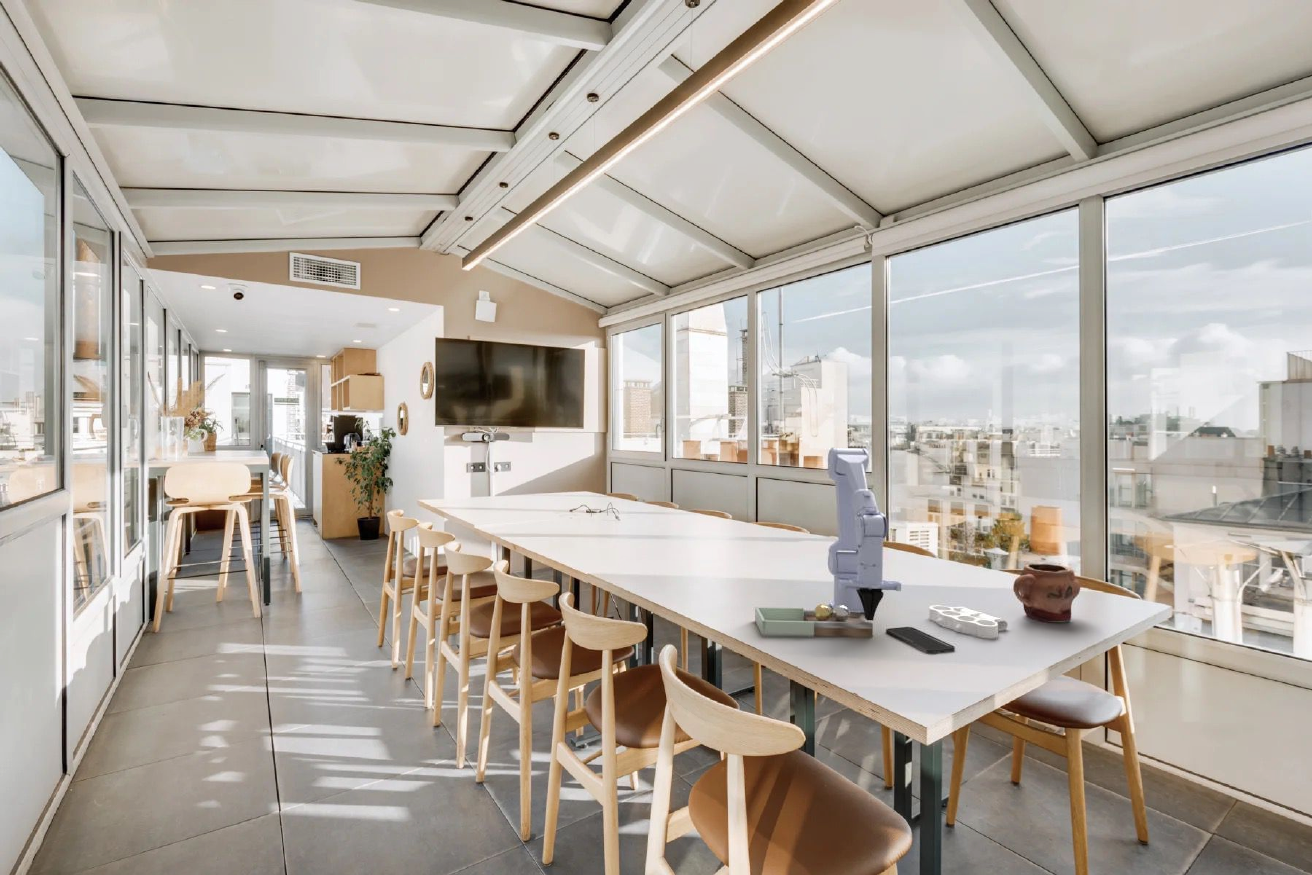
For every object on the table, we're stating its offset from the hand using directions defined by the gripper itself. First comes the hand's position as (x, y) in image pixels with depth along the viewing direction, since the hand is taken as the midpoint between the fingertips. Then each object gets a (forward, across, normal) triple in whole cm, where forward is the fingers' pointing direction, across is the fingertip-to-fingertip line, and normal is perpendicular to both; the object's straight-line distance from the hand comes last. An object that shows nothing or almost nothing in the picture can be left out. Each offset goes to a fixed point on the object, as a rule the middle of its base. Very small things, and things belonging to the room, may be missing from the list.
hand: (869, 619), depth 147 cm
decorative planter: (+3, +50, +12) cm, 51 cm away
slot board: (+3, -8, 0) cm, 8 cm away
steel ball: (-1, -7, 0) cm, 7 cm away
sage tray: (+3, -21, 0) cm, 21 cm away
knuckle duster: (+3, +26, +5) cm, 27 cm away
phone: (+3, +9, -7) cm, 12 cm away
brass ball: (-1, -11, 0) cm, 11 cm away
